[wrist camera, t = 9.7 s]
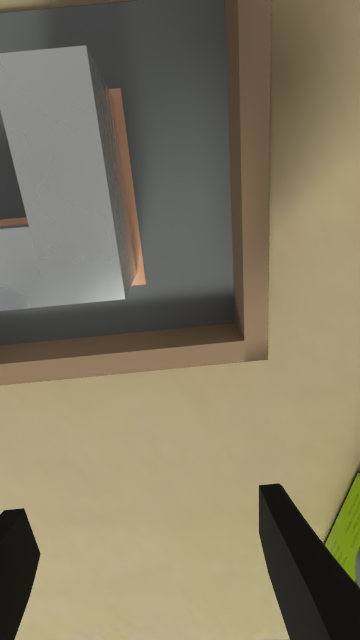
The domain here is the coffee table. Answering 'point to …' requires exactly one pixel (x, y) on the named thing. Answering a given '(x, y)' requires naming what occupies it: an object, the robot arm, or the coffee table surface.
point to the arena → (163, 189)
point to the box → (348, 534)
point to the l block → (63, 183)
